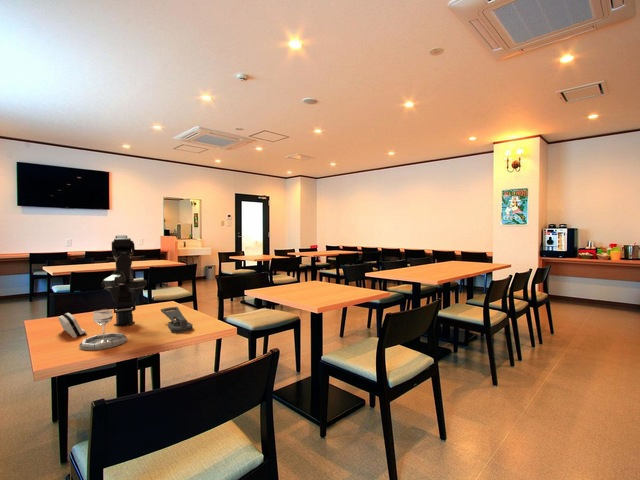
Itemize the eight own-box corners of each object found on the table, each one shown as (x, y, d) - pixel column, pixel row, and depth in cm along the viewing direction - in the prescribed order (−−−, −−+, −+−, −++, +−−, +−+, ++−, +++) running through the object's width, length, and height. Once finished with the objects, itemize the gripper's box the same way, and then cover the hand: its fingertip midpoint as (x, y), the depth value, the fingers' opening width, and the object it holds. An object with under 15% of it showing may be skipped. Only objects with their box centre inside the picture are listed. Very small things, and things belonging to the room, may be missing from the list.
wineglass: (96, 339, 138) (94, 310, 138) (115, 337, 141) (114, 308, 140) (91, 345, 132) (90, 314, 131) (111, 342, 134) (110, 312, 134)
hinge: (87, 334, 148) (77, 314, 145) (75, 341, 145) (64, 320, 142) (77, 327, 159) (67, 308, 156) (65, 333, 156) (55, 314, 153)
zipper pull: (178, 306, 172) (194, 315, 152) (178, 319, 172) (195, 330, 152) (159, 308, 166) (173, 319, 147) (159, 322, 167) (173, 334, 147)
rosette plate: (68, 348, 130) (68, 343, 130) (104, 335, 146) (104, 331, 146) (103, 352, 126) (103, 346, 126) (136, 338, 142) (136, 333, 142)
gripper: (89, 269, 143) (90, 306, 143) (126, 270, 138) (128, 308, 139) (111, 266, 153) (112, 301, 154) (147, 266, 149) (148, 302, 150)
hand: (124, 303), depth 149 cm, fingers open, 9 cm apart
